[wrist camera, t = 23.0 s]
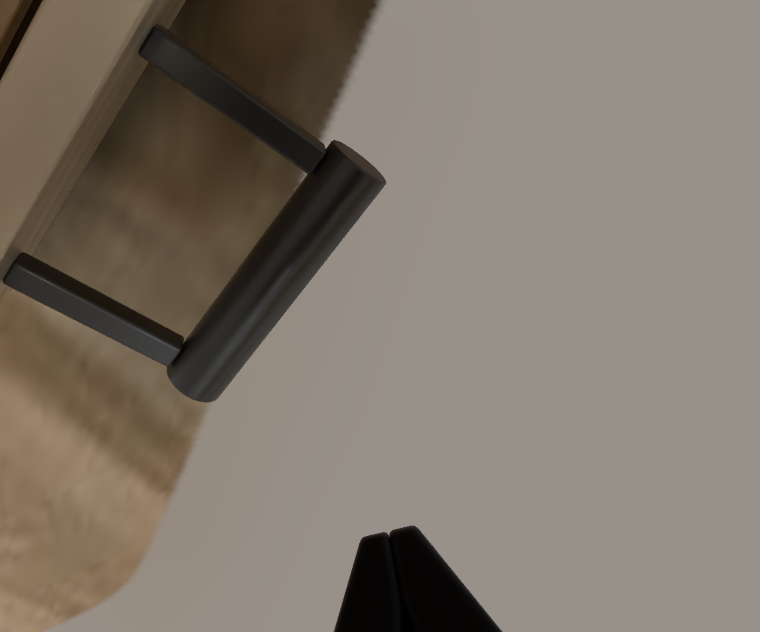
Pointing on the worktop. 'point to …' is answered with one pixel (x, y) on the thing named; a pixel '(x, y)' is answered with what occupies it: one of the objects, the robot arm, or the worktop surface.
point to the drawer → (82, 137)
